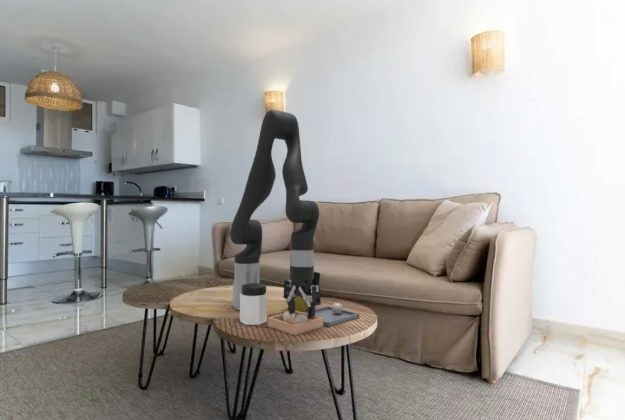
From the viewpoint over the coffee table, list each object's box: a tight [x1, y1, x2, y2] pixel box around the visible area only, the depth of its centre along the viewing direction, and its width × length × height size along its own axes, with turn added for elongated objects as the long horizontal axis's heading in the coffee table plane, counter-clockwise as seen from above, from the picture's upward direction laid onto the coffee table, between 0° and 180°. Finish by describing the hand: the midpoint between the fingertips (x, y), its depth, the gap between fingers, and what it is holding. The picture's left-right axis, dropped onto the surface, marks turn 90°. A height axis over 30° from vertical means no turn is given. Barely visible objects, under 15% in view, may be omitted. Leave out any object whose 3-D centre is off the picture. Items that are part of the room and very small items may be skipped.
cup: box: [311, 271, 321, 303], centre depth 158 cm, size 8×8×12 cm
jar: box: [239, 283, 268, 326], centre depth 131 cm, size 9×8×12 cm
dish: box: [267, 311, 324, 337], centre depth 126 cm, size 12×12×3 cm
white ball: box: [282, 310, 295, 323], centre depth 128 cm, size 4×4×4 cm
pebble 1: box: [295, 314, 307, 324], centre depth 124 cm, size 4×4×4 cm
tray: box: [303, 305, 360, 328], centre depth 137 cm, size 14×16×2 cm
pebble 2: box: [331, 302, 344, 314], centre depth 140 cm, size 4×4×4 cm
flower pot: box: [285, 291, 311, 312], centre depth 146 cm, size 9×9×9 cm
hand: (301, 315), depth 124 cm, fingers open, 8 cm apart
